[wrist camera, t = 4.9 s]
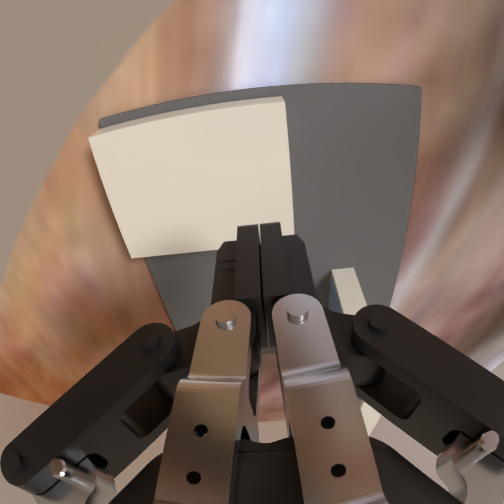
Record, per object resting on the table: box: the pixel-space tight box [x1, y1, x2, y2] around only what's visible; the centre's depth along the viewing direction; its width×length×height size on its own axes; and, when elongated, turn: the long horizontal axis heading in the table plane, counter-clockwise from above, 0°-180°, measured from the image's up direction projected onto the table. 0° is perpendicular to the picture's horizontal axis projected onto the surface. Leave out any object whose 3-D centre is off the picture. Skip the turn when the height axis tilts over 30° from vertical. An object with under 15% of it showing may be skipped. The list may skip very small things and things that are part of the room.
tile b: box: [328, 267, 381, 436], centre depth 20 cm, size 2×8×10 cm, turn 7°
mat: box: [99, 83, 421, 354], centre depth 21 cm, size 18×22×1 cm
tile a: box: [88, 96, 294, 258], centre depth 17 cm, size 2×8×10 cm
